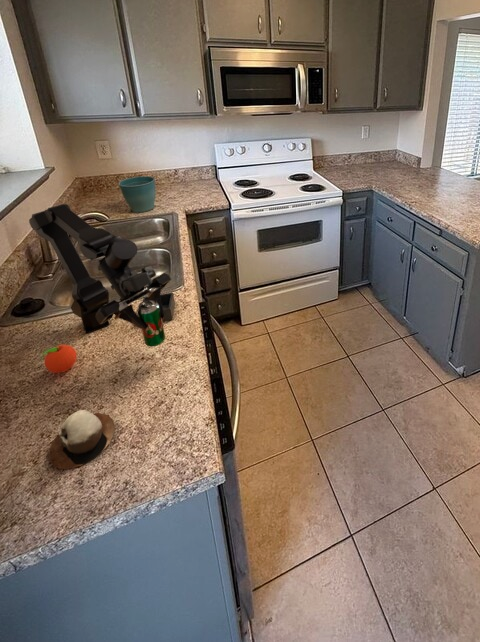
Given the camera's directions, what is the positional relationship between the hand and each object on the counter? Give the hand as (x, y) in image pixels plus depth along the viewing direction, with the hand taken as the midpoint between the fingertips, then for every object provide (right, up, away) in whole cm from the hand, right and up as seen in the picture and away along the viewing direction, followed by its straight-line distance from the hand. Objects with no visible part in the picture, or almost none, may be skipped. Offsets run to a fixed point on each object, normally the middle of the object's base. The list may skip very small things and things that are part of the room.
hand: (154, 323), depth 92 cm
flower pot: (-60, +30, +112) cm, 130 cm away
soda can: (-1, -6, +3) cm, 7 cm away
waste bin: (-11, -5, +25) cm, 28 cm away
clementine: (-27, -14, +4) cm, 30 cm away
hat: (-8, -21, -15) cm, 27 cm away
